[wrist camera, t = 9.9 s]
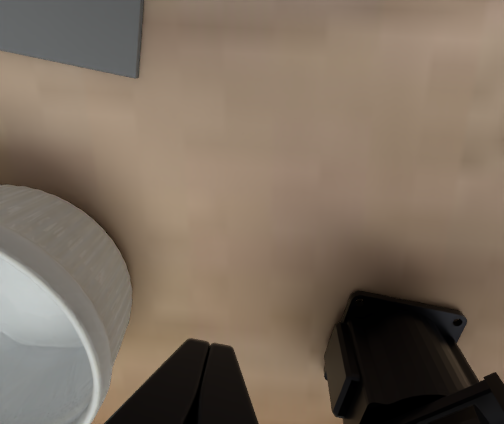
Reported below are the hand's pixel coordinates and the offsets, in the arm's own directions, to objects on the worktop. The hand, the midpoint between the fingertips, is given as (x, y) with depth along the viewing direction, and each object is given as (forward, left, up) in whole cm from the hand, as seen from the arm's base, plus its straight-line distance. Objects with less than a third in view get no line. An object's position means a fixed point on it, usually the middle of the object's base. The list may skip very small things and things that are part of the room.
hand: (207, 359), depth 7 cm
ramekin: (+11, +9, -13) cm, 19 cm away
